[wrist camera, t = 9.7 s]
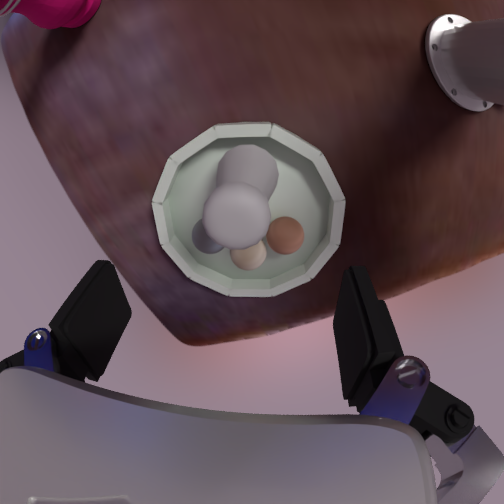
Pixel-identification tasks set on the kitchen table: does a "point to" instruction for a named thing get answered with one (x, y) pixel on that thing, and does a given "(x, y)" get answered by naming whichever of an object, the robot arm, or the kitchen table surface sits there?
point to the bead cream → (249, 256)
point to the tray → (280, 203)
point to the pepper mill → (52, 11)
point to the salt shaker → (241, 198)
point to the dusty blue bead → (204, 240)
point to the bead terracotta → (285, 235)
